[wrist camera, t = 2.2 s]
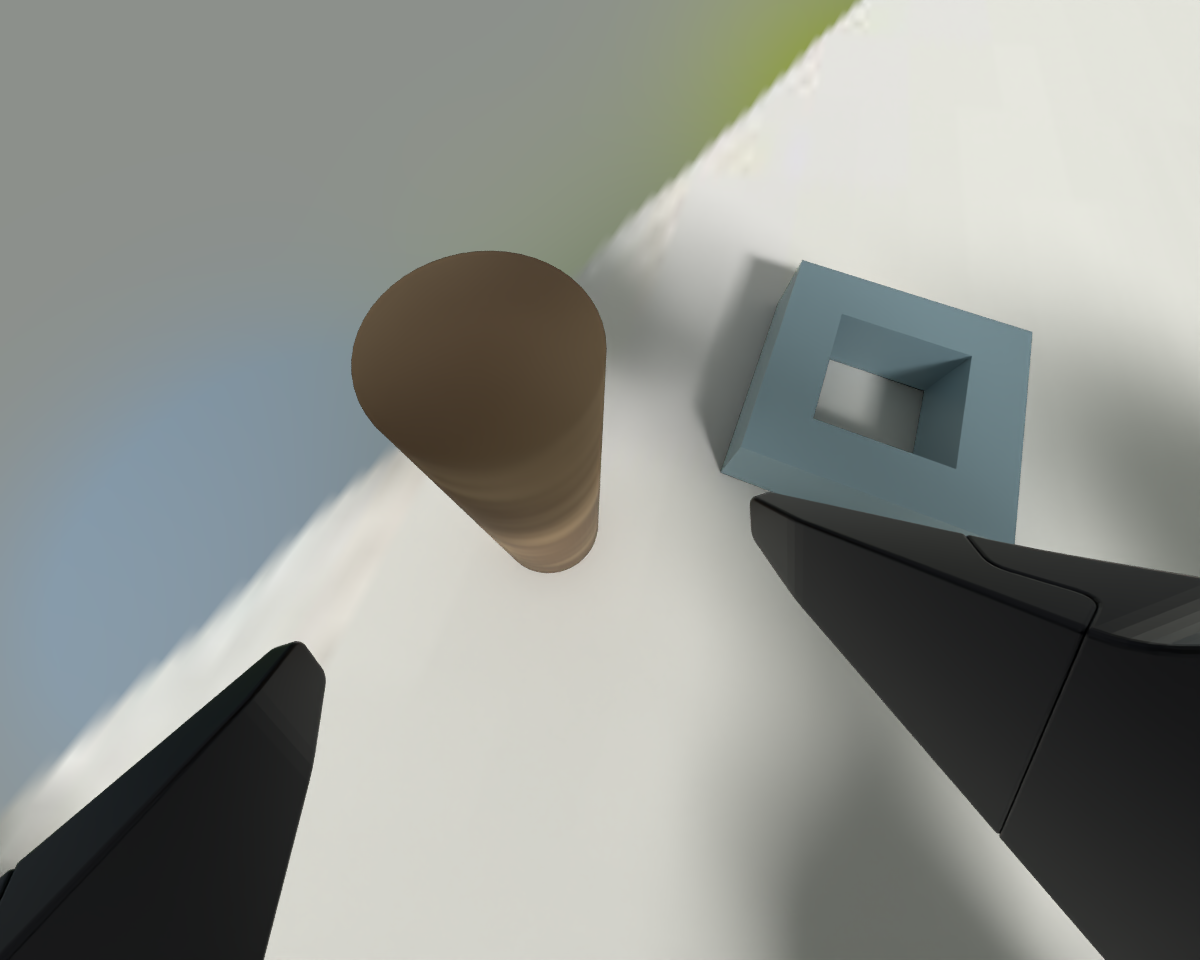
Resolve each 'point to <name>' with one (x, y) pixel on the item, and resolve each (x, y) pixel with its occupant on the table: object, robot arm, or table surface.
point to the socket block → (906, 355)
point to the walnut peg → (494, 396)
